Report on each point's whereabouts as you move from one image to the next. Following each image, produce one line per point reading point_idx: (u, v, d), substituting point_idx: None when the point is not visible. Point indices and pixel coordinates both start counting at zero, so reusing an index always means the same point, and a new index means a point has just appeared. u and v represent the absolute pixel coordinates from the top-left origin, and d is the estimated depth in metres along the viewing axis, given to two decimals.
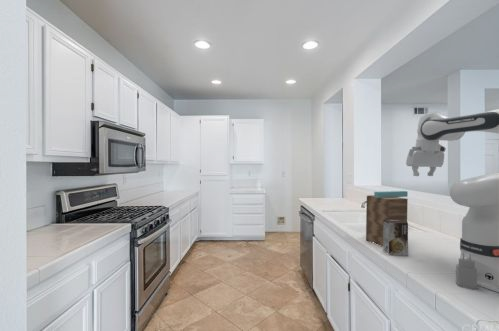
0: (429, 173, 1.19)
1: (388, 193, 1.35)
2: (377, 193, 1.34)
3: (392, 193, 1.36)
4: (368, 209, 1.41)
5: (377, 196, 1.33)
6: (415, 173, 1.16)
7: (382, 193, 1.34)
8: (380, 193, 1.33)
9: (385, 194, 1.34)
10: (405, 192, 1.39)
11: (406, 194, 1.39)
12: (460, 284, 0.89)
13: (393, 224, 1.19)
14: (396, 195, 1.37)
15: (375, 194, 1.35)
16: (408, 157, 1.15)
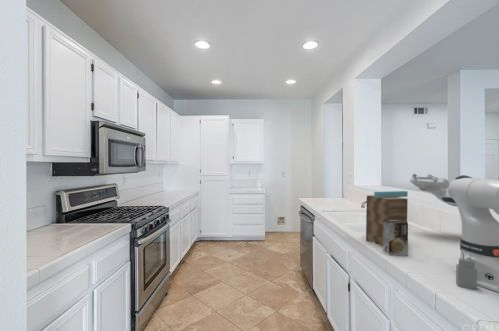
0: (415, 175, 1.49)
1: (388, 193, 1.35)
2: (377, 193, 1.34)
3: (392, 193, 1.36)
4: (368, 209, 1.41)
5: (377, 196, 1.33)
6: (431, 177, 1.40)
7: (382, 193, 1.34)
8: (380, 193, 1.33)
9: (385, 194, 1.34)
10: (405, 192, 1.39)
11: (406, 194, 1.39)
12: (460, 284, 0.89)
13: (393, 224, 1.19)
14: (396, 195, 1.37)
15: (375, 194, 1.35)
16: (448, 182, 1.38)
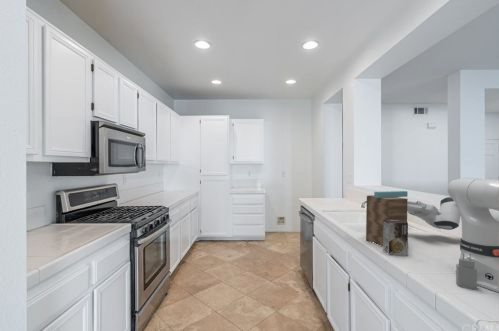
0: None
1: (388, 193, 1.35)
2: (377, 193, 1.34)
3: (392, 193, 1.36)
4: (368, 209, 1.41)
5: (377, 196, 1.33)
6: (420, 203, 1.38)
7: (382, 193, 1.34)
8: (380, 193, 1.33)
9: (385, 194, 1.34)
10: (405, 192, 1.39)
11: (406, 194, 1.39)
12: (460, 284, 0.89)
13: (393, 224, 1.19)
14: (396, 195, 1.37)
15: (375, 194, 1.35)
16: (436, 209, 1.36)
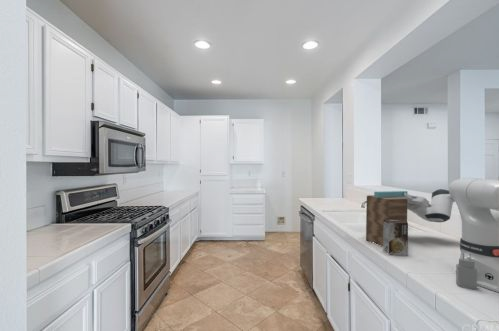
0: None
1: (388, 193, 1.35)
2: (377, 193, 1.34)
3: (392, 193, 1.36)
4: (368, 209, 1.41)
5: (377, 196, 1.34)
6: (406, 195, 1.37)
7: (382, 193, 1.34)
8: (380, 193, 1.33)
9: (385, 194, 1.34)
10: (405, 192, 1.39)
11: None
12: (460, 284, 0.89)
13: (393, 224, 1.19)
14: (396, 195, 1.37)
15: (375, 194, 1.35)
16: (427, 201, 1.33)
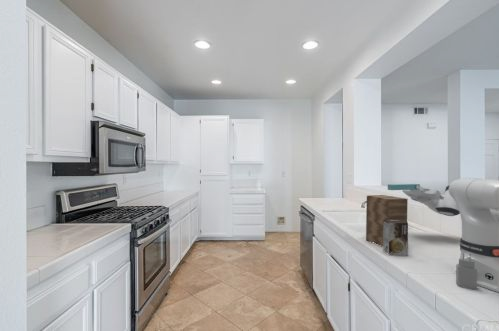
0: None
1: (401, 186, 1.38)
2: (390, 186, 1.37)
3: (405, 186, 1.39)
4: (368, 209, 1.41)
5: (390, 188, 1.37)
6: (418, 187, 1.40)
7: (395, 186, 1.37)
8: (393, 185, 1.36)
9: (398, 187, 1.37)
10: (417, 184, 1.42)
11: None
12: (460, 284, 0.89)
13: (393, 224, 1.19)
14: (409, 188, 1.40)
15: (388, 187, 1.38)
16: (439, 193, 1.36)
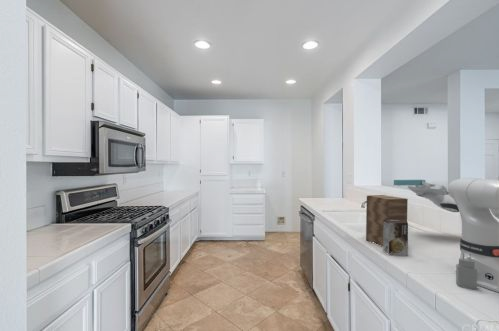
0: None
1: (407, 181, 1.39)
2: (397, 181, 1.38)
3: (411, 181, 1.40)
4: (368, 209, 1.41)
5: (397, 184, 1.38)
6: (424, 183, 1.41)
7: (401, 181, 1.38)
8: (400, 181, 1.37)
9: (404, 182, 1.39)
10: (423, 180, 1.43)
11: None
12: (460, 284, 0.89)
13: (393, 224, 1.19)
14: (415, 183, 1.41)
15: (394, 182, 1.39)
16: (445, 189, 1.37)
